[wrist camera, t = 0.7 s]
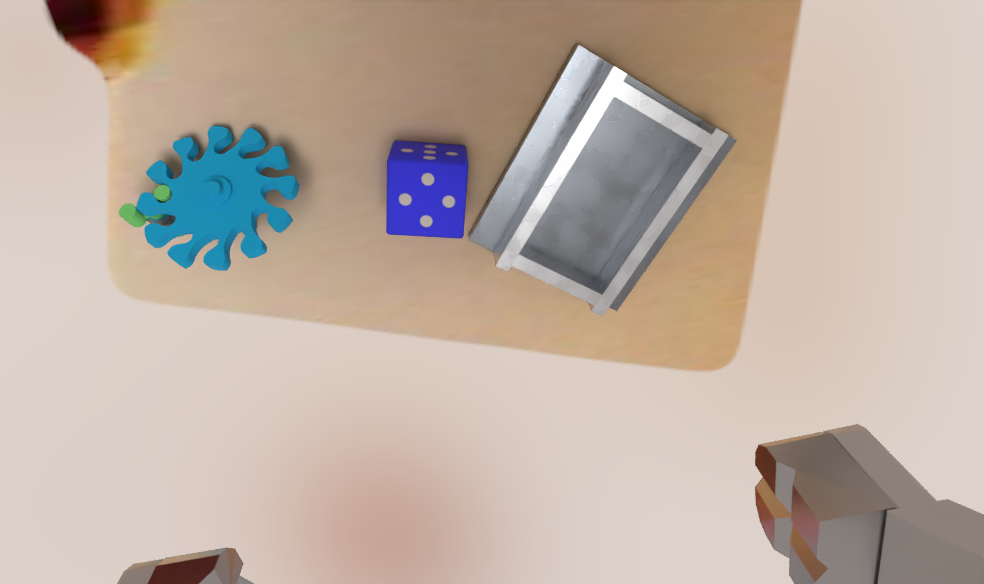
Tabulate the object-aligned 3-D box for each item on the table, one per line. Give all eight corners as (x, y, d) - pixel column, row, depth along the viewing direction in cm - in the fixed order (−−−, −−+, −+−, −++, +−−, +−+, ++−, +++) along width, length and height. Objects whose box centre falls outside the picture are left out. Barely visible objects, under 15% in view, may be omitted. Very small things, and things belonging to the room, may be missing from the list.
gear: (291, 110, 41) (293, 252, 37) (317, 159, 46) (321, 286, 43) (120, 130, 41) (106, 274, 37) (167, 177, 46) (159, 306, 43)
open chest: (575, 43, 41) (586, 49, 38) (730, 137, 44) (752, 149, 41) (468, 235, 46) (470, 253, 43) (613, 304, 50) (624, 327, 47)
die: (393, 139, 43) (387, 159, 39) (466, 144, 44) (468, 164, 39) (392, 209, 45) (386, 235, 41) (461, 213, 46) (463, 239, 41)
